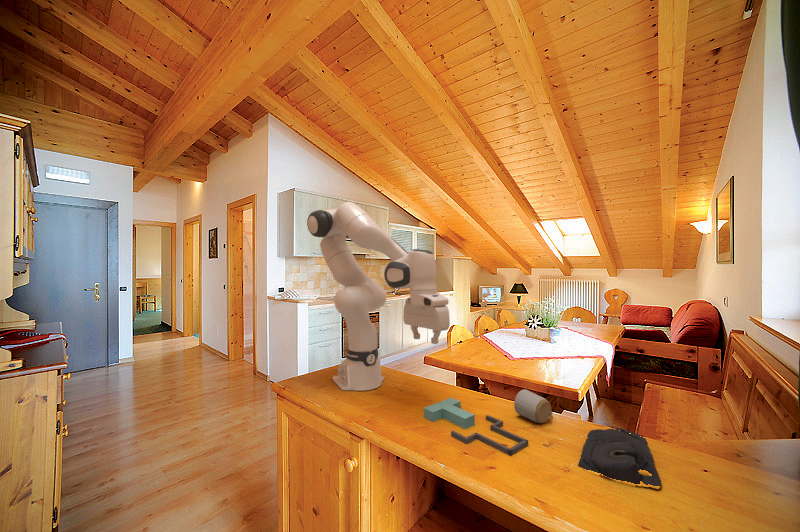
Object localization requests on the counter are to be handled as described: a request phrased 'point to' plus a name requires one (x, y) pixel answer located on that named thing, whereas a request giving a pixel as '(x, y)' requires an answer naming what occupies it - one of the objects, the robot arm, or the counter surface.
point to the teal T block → (450, 413)
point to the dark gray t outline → (490, 442)
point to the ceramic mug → (532, 406)
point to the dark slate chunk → (619, 456)
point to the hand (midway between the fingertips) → (425, 341)
